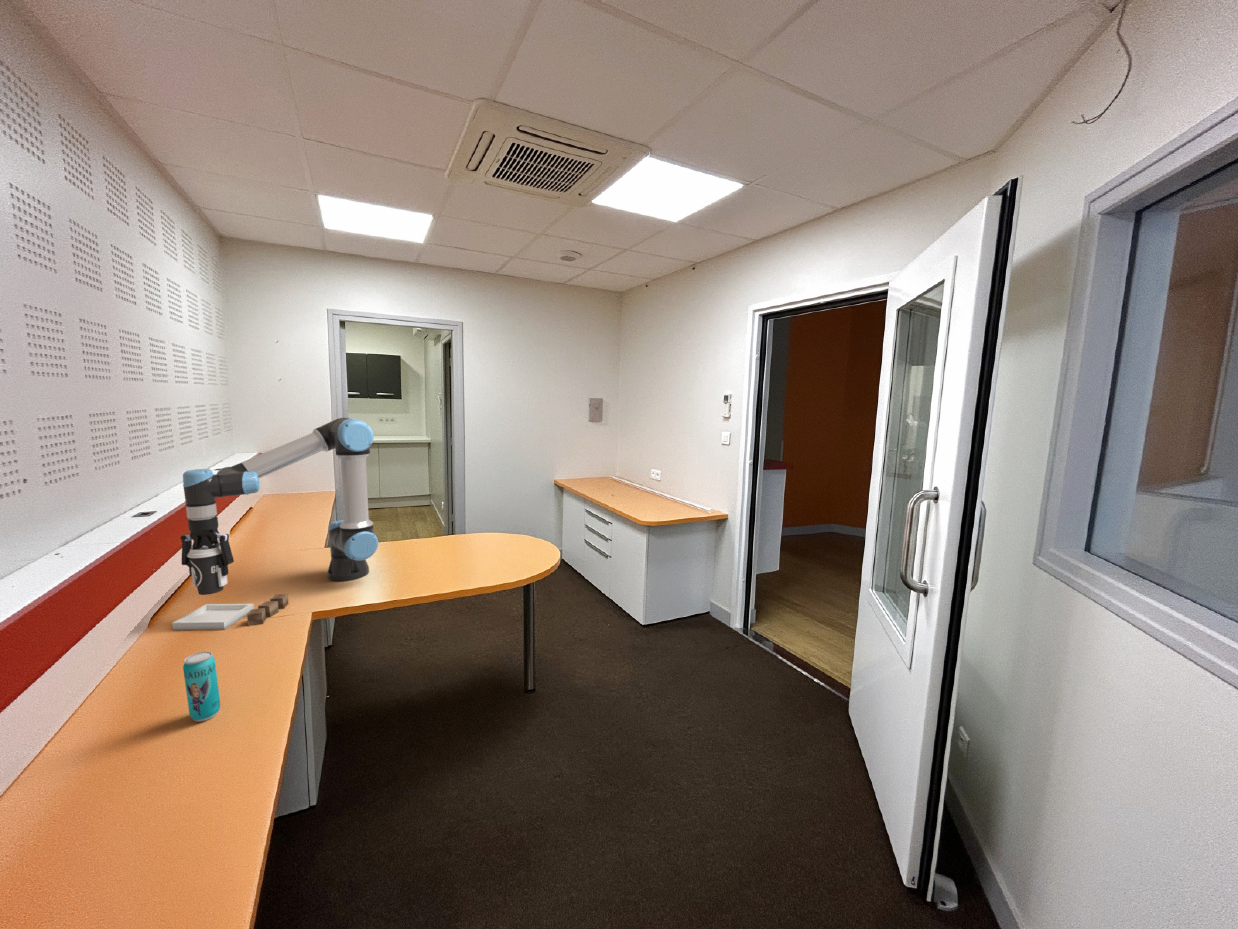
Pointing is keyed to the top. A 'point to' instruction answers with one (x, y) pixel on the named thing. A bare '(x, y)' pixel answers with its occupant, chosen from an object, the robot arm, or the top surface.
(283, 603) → the block
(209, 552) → the coffee cup
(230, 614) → the tray
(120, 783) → the top surface
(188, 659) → the beverage can
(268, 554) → the top surface
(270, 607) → the block
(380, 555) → the top surface
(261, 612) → the block
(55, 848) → the top surface
